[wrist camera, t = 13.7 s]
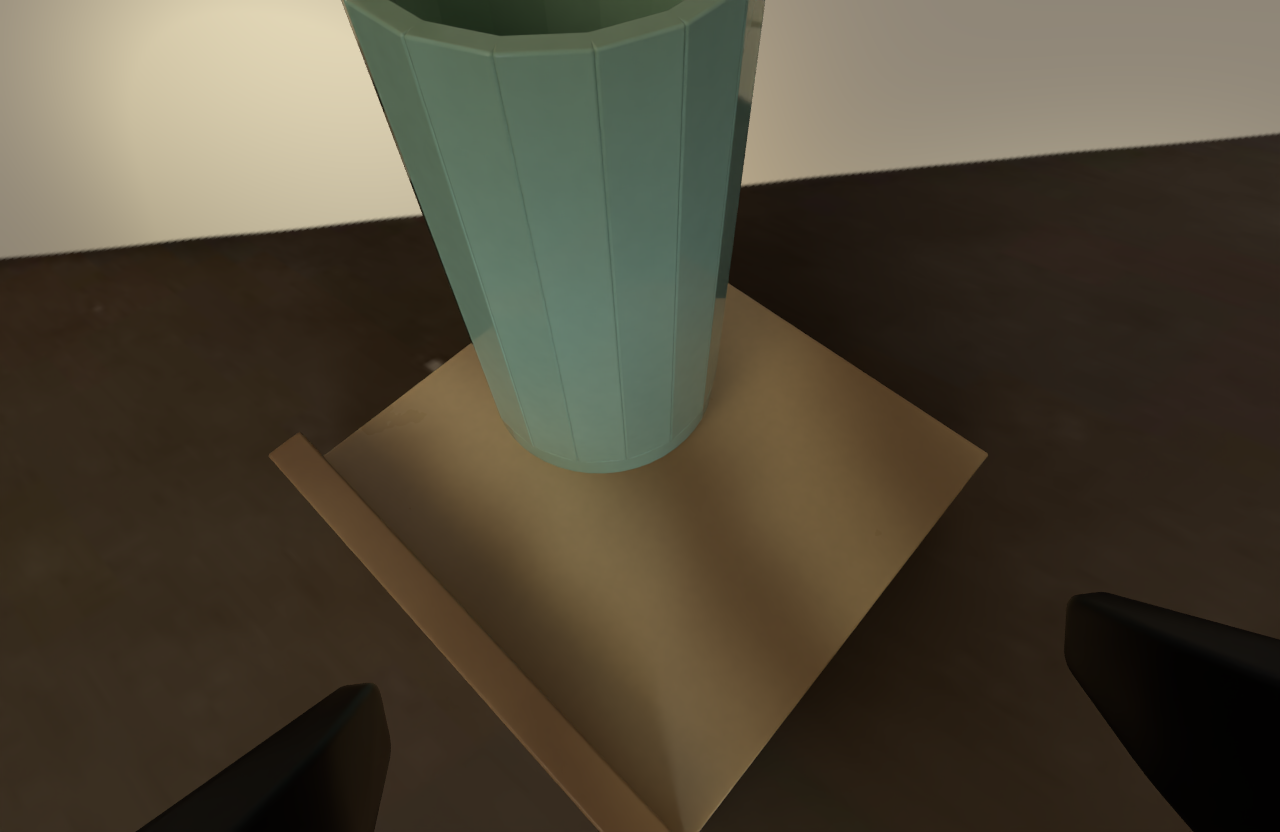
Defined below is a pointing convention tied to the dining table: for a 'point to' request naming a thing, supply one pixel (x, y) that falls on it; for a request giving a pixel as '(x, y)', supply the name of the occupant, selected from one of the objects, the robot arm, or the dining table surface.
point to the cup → (577, 199)
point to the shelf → (646, 560)
